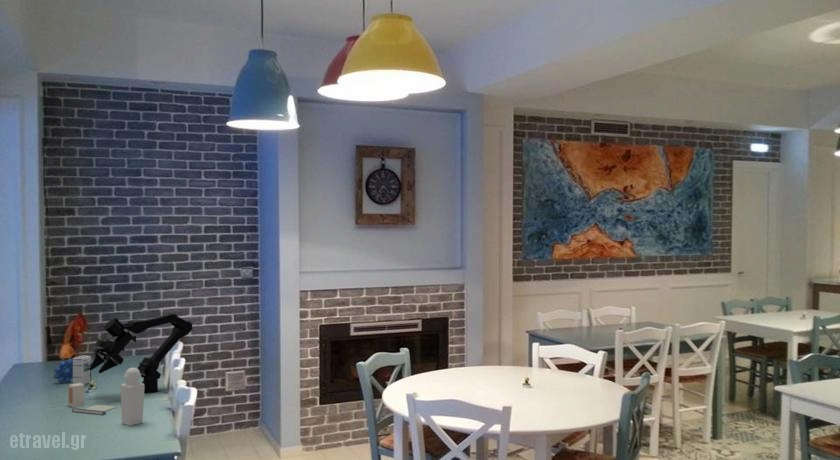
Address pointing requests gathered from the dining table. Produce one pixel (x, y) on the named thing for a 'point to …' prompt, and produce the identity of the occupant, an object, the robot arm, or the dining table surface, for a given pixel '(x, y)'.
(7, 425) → the dining table surface
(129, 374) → the grey bottle
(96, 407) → the pad
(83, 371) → the syrup box
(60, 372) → the grapes
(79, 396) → the carton
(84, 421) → the dining table surface
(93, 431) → the dining table surface
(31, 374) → the dining table surface
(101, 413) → the rail
